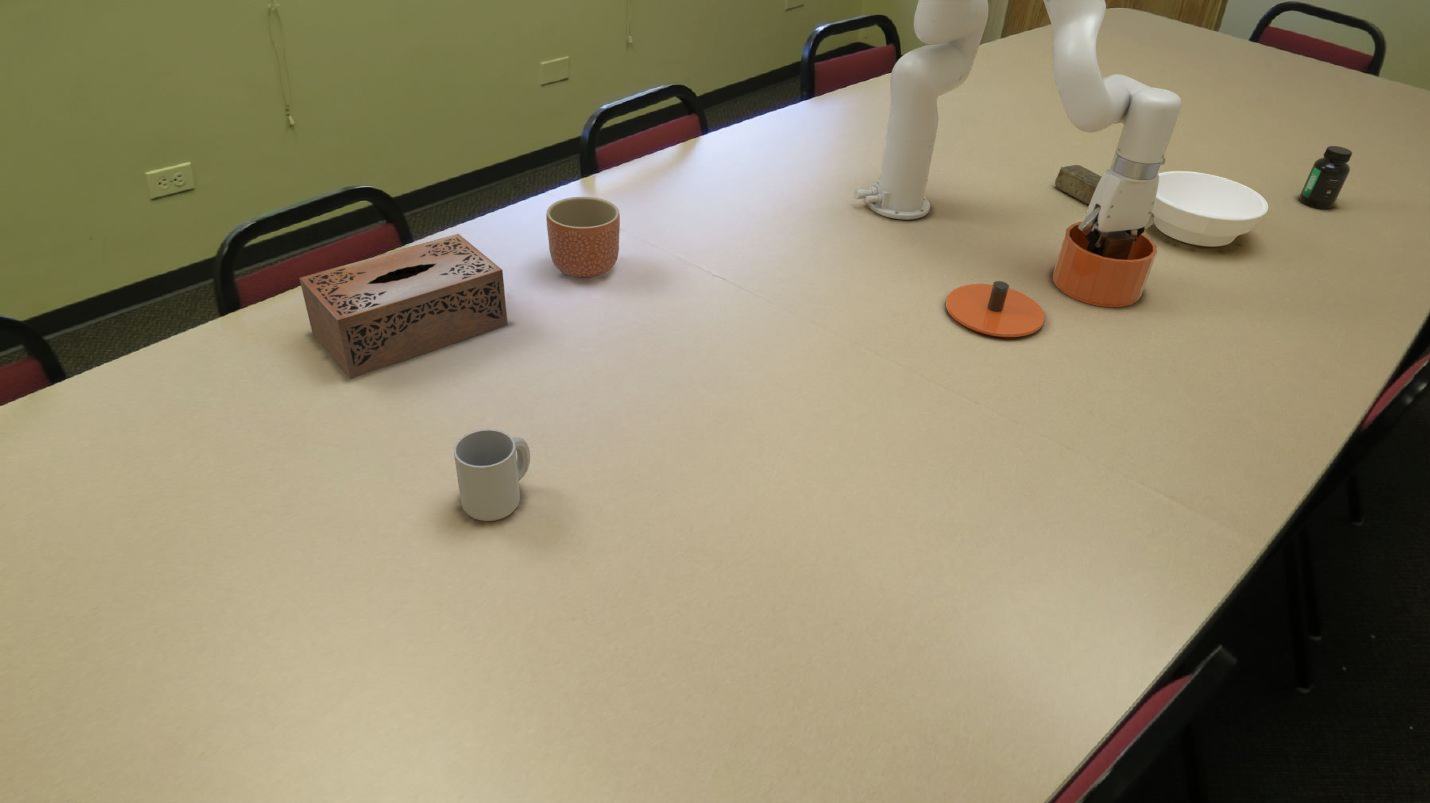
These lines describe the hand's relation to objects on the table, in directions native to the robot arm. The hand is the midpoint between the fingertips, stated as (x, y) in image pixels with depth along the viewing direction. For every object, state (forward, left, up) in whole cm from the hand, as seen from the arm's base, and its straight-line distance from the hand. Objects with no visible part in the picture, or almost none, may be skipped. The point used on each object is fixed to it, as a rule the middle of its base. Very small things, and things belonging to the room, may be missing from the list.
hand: (1104, 261), depth 170 cm
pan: (0, 0, -5) cm, 5 cm away
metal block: (0, 0, 0) cm, 0 cm away
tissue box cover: (-119, +10, -5) cm, 120 cm away
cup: (-110, -32, -5) cm, 115 cm away
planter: (-89, +24, -5) cm, 92 cm away
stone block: (+20, +35, -5) cm, 41 cm away
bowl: (+33, +15, -5) cm, 37 cm away
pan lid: (-24, -5, -4) cm, 25 cm away
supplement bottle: (+71, +22, -5) cm, 75 cm away
